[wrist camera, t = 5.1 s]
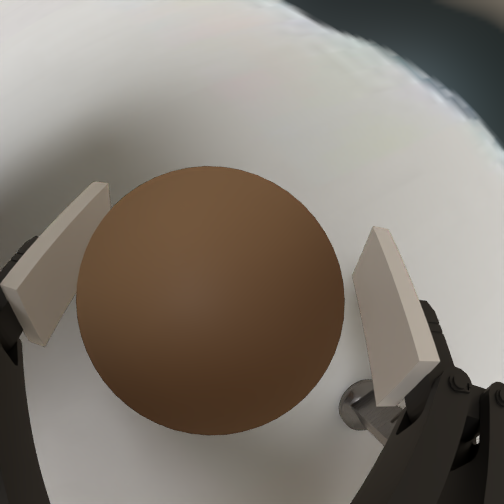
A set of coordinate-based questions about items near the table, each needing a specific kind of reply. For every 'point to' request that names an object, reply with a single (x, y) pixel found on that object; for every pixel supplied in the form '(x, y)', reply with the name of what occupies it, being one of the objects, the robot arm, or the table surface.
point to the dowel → (210, 300)
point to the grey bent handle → (367, 411)
